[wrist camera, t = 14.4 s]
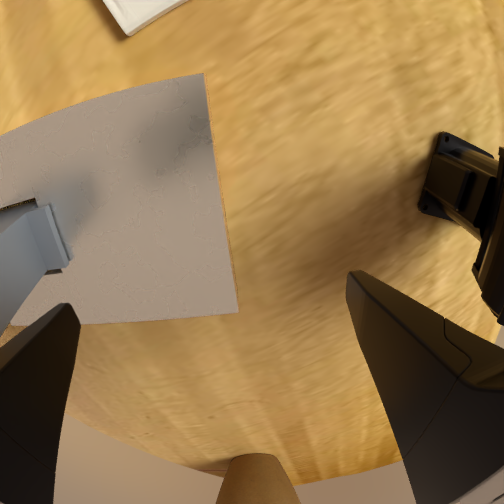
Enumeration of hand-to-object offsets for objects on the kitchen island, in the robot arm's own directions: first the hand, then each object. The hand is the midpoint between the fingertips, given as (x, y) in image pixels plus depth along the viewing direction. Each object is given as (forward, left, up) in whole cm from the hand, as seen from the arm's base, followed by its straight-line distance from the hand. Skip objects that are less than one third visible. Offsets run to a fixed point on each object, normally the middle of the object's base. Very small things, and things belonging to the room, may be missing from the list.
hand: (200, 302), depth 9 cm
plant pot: (-10, +42, -12) cm, 45 cm away
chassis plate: (+10, +4, -12) cm, 16 cm away
